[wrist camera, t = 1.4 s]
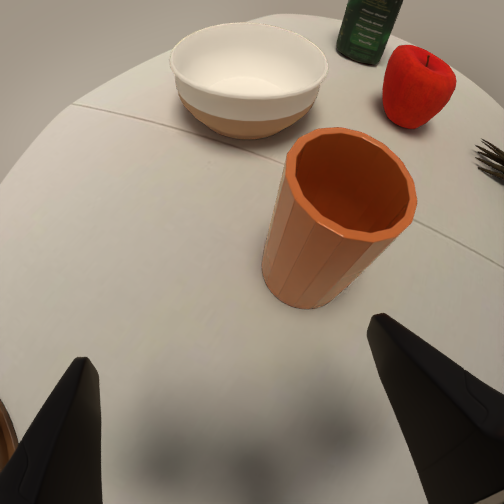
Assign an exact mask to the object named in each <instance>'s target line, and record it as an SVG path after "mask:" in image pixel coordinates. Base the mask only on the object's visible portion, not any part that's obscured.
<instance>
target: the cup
mask: <svg viewBox="0 0 504 504" xmlns="http://www.w3.org/2000/svg"><path fill="white" fill-rule="evenodd" d="M416 206H417V196H416V191H415V185H414V181H413V179H412V177H411V175H410V174H409V172H408V170H407V168H406V167H405V165H404V163H403V162H402V161H401V159H400V158H398V157H397V156H396V155H395V154H394V153H393V152H392V151H391V150H390V149H389V148H388V147H387V146H386V145H384V144H383V143H381V142H379V141H378V140H376V139H374V138H372V137H370V136H368V135H367V134H365V133H362V132H359V131H354V130H350V129H346V128H341V127H334V128H321V129H316V130H314V131H312V132H310V133H308V134H306V135H304V136H302V137H300V138H298V140H297V141H296V142H295V144H294V145H293V146H292V148H291V149H290V151H289V152H288V153H287V156H286V161H285V165H284V169H283V173H282V177H281V182H280V186H279V190H278V194H277V198H276V202H275V206H274V210H273V215H272V219H271V223H270V227H269V231H268V235H267V239H266V243H265V247H264V253H263V258H262V273H263V277H264V280H265V283H266V284H267V286H268V288H269V289H270V291H271V292H272V293H273V294H274V295H275V296H276V297H277V298H278V299H279V300H281V301H282V302H284V303H285V304H287V305H290V306H292V307H295V308H301V309H313V308H318V307H321V306H323V305H325V304H327V303H329V302H330V301H331V300H333V299H334V298H335V297H336V296H337V295H338V294H339V293H341V292H342V291H343V290H344V289H345V288H346V287H347V286H348V285H349V284H350V283H351V282H352V281H354V280H355V279H356V278H357V277H358V276H359V275H360V274H361V273H362V272H363V271H364V270H365V269H366V268H367V267H368V266H369V265H370V264H371V263H372V262H373V261H374V260H375V259H376V258H378V257H379V256H380V255H381V254H382V253H383V252H384V251H385V250H386V249H387V248H388V247H389V246H390V245H391V244H392V243H393V242H394V241H395V240H396V238H397V237H398V236H399V235H400V234H401V233H402V232H403V231H404V230H405V229H406V228H407V227H408V226H409V225H410V224H411V223H412V221H413V217H414V214H415V210H416Z"/></svg>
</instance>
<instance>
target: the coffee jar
mask: <svg viewBox="0 0 504 504" xmlns="http://www.w3.org/2000/svg"><path fill="white" fill-rule="evenodd" d="M402 2H403V0H348V4H347V7H346V11H345V15H344V18H343V22H342V25H341V28H340V32H339V35H338V39H337V49H338V51H339V52H341V53H342V54H344V55H346V56H348V57H349V58H351V59H353V60H355V61H358V62H361V63H369V64H377V63H378V62H379V61H380V59H381V57H382V54H383V52H384V49H385V47H386V44H387V41H388V39H389V36H390V34H391V31H392V29H393V26H394V23H395V21H396V19H397V16H398V13H399V10H400V8H401V5H402Z"/></svg>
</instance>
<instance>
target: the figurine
mask: <svg viewBox="0 0 504 504" xmlns="http://www.w3.org/2000/svg"><path fill="white" fill-rule="evenodd" d="M482 140H483V139H482ZM483 141H485V140H483ZM483 141H482V142H483ZM485 142H486V143H487V144H489V145H490V146H492V147H493V148H494V149H493V148H492V147H490V146H489V145H487V144H486V143H484V142H483V143H484V144H485V145H486V146H488V147H489V148H490V149H492V150H493V151H494V152H495V153H496V154H497V155H496V154H494V153H492V152H490V151H488V150H486V149H484V148H482V147H480V146H477V145H475V146H476V147H478V148H479V149H481V150H482V151H484V152H485V153H487V154H485V153H482V152H479V151H478V153H480V154H482V155H484V156H486V157H488V158H490V159H491V160H494V161H495V162H497V163H499V164H501V165H502V166H500V165H497V164H494V163H491V162H488V161H485V160H483V159H480V158H477V157H475V158H476V159H478V160H480V161H481V162H483V163H485V164H487V165H489V166H490V167H492V168H494V169H496V170H498V171H500V172H502V173H503V174H501V173H497V172H493V171H490V170H487V169H483V168H480V167H478V169H480V170H482V171H485V172H487V173H489V174H492V175H494V176H497V177H500V178H501V179H504V167H503V166H504V152H503V151H502V150H500V149H499V148H497V147H496V146H494V145H493V144H491V143H489V142H487V141H485ZM495 149H496V150H495ZM488 154H489V155H488Z"/></svg>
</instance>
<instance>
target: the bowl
mask: <svg viewBox="0 0 504 504" xmlns="http://www.w3.org/2000/svg"><path fill="white" fill-rule="evenodd" d="M169 62H170V68H171V69H172V71H173V73H174V74H175V82H176V88H177V90H178V93H179V96H180V99H181V101H182V103H183V104H184V106H185V107H186V108H187V109H188V110H189V111H190V112H191V113H192V114H193V115H194V116H195V117H196V118H197V119H198V120H199V121H201V122H202V123H204V124H205V125H207V126H208V127H209V128H210V129H212V130H213V131H215V132H217V133H219V134H221V135H223V136H227V137H231V138H236V139H259V138H265V137H268V136H271V135H274V134H276V133H278V132H279V131H281V130H282V129H284V128H286V127H288V126H291V125H292V124H293V123H295V122H296V121H298V120H299V119H300V118H301V117H303V116H304V115H305V114H306V113H307V112H308V111H309V109H310V108H311V107H312V105H313V103H314V101H315V99H316V98H317V95H318V92H319V88H320V84H321V83H322V82H323V80H324V79H325V78H326V76H327V73H328V62H327V60H326V58H325V55H324V54H323V52H322V51H321V50H320V49H319V48H318V47H317V46H316V45H315V44H313V43H312V42H311V41H310V40H308V39H306V38H304V37H303V36H301V35H299V34H296V33H294V32H292V31H289V30H286V29H283V28H280V27H276V26H271V25H266V24H258V23H227V24H221V25H215V26H211V27H207V28H204V29H201V30H198V31H196V32H194V33H192V34H190V35H188V36H187V37H185V38H183V39H182V40H181V41H180V42H179V43H177V45H176V46H175V47H174V49H173V50H172V52H171V55H170V59H169Z"/></svg>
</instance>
